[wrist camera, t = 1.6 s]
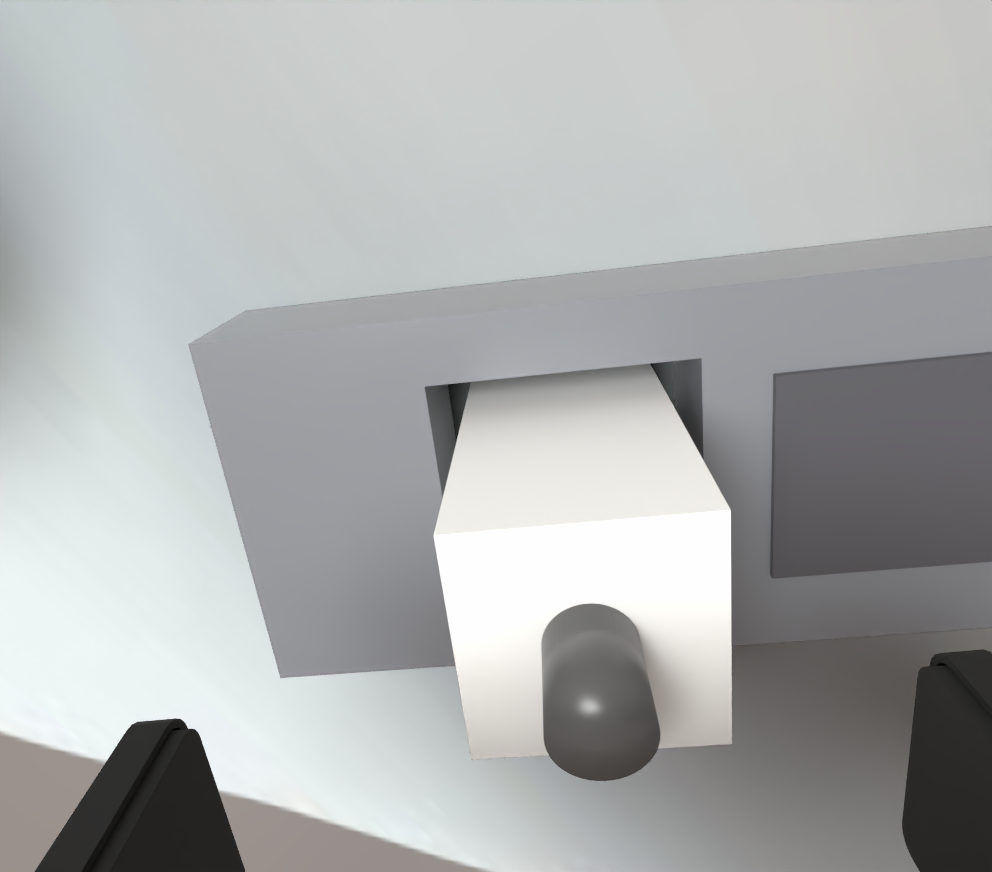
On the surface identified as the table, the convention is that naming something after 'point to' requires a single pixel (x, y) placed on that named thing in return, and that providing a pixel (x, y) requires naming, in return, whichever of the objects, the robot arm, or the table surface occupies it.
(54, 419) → the table surface
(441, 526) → the charger
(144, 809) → the robot arm
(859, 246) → the power strip
